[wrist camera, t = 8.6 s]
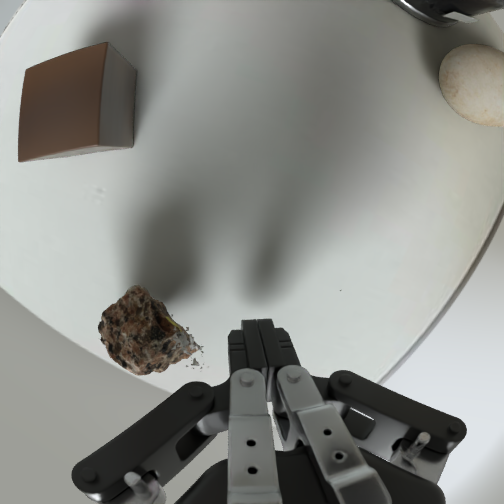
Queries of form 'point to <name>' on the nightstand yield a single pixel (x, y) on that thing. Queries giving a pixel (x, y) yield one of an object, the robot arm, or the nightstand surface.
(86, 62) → the brown cube block
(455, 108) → the stone
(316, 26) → the nightstand surface
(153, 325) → the rock
